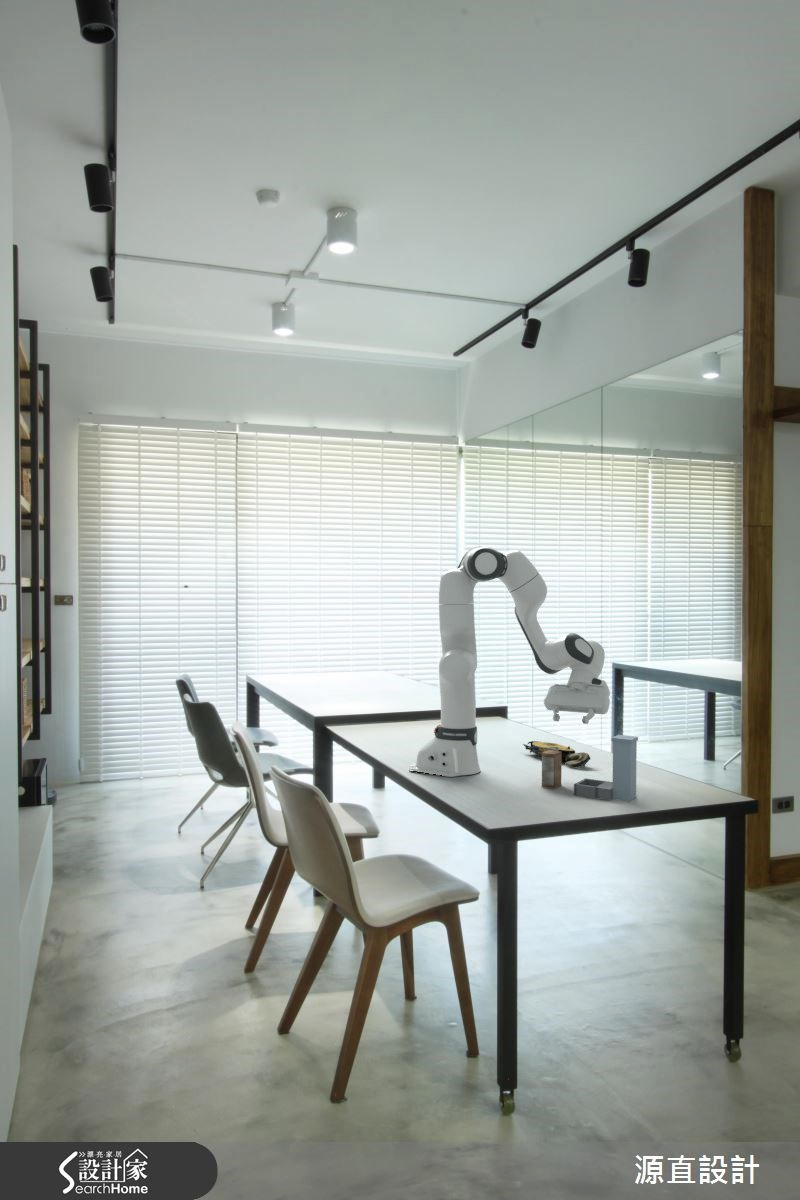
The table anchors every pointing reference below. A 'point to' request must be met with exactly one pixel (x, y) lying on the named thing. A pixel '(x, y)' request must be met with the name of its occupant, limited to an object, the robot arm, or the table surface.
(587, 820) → the table surface
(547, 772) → the brown rectangular block
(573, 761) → the pulley block
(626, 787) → the grey l-shaped post
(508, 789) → the table surface
